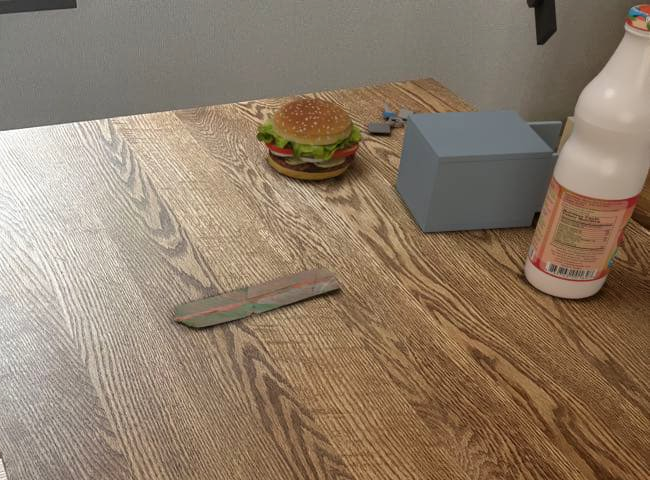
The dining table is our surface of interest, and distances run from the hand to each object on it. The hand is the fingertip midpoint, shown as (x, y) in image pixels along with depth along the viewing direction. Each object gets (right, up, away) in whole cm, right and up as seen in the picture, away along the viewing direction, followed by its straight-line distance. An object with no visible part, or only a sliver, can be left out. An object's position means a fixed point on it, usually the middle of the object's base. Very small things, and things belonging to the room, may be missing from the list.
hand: (608, 36), depth 85 cm
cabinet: (-9, -7, +25) cm, 27 cm away
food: (-29, +2, +32) cm, 43 cm away
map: (-36, -25, +9) cm, 45 cm away
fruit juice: (0, -21, +13) cm, 25 cm away
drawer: (+3, -6, +26) cm, 27 cm away
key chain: (-14, +13, +43) cm, 47 cm away
